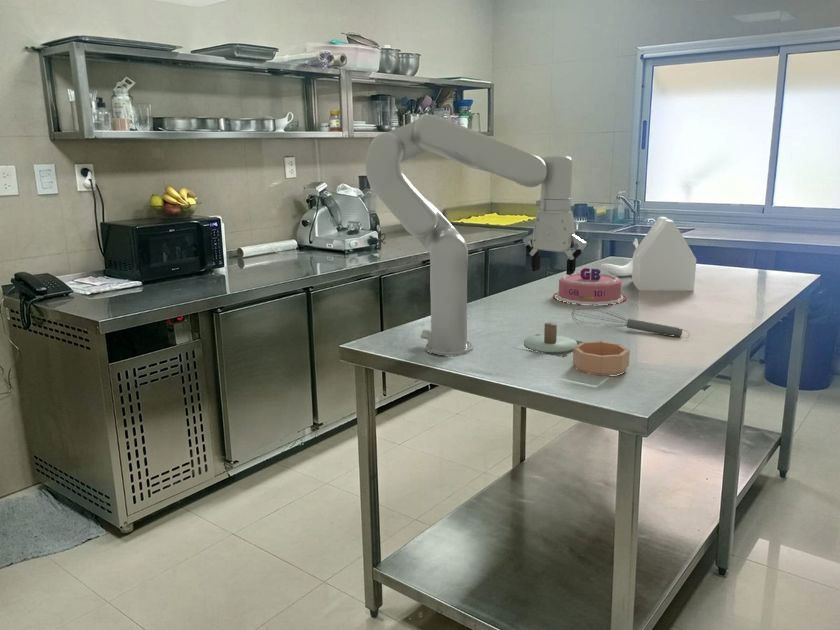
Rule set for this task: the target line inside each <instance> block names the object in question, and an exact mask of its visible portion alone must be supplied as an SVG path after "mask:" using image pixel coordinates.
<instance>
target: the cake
mask: <svg viewBox="0 0 840 630" xmlns="http://www.w3.org/2000/svg"><path fill="white" fill-rule="evenodd" d="M590 270H591V271H590ZM555 295H557V296H556V298H558V299H559V300H561V301H560V303H563V301H566V302H564V303H563V304H567V302H568V303H570V304H569V305H573V304H572V303H576V304H577V305H576V306H579V305H580V306H582V305H581V304H590V305H591V304H592V305H598V304H608V305H607V306H614V305H613V304H611V303H616V304H615V305H619V303H618V302H620V301H622V300H623V301H622V302H623V303H625V302H627V297H626V295H624V294H622V280H621V278H619V277H618V276H616V275H613V274H610V273H603V272H602V273H601V270H600V269H599V268H590V267H589V268H588V267H584V268H583V269H581V271H580V272H574V273H573V274H571V275H567V274H564V275H563V276H561V277H559V280H558V291H557V292H556V293H554V294H552V298H553V299H554V300H555V301H557V302H559V300H557V299H556V298H555ZM623 297H624V298H625V299H624V298H623ZM624 301H625V302H624ZM622 302H620V304H622Z"/></svg>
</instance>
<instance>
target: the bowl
mask: <svg viewBox="0 0 840 630" xmlns="http://www.w3.org/2000/svg"><path fill="white" fill-rule="evenodd" d="M630 351H631V350H630V349H629V348H628V347H626V346H625V345H622V344H621V343H617V342H610V341H609V342H608V341H603V340H597V341H582V342H581V343H580V344H578V345H576V346H575V347H573V352H572V364H573V365H574V368H575V367H576V368H577V369H578V370H577V369H576V368H575V369H576V370H577V371H579V370H580V371H579V372H581V371H582V373H583V372H585V373H584V374H587V373H590V374H589V375H592V374H595V375H594V376H600V375H617V374H620V373H623V372H625V371H626V372H627V368H628V367H630V366H629V365H630Z"/></svg>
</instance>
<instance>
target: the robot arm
mask: <svg viewBox="0 0 840 630" xmlns="http://www.w3.org/2000/svg"><path fill="white" fill-rule="evenodd" d="M427 152H430V153H433V154H436V155H438V156H440V157H444V158H447V159H449V160H450V161H451V160H452V161H454V162H456V163H459V164H461V165H464V166H466V167H470V168H472V169H475V170H479V171H484V172H487V173H489V174H490V173H491V174H493V175H496V176H499V177H502V178H504V179H507V180H509V181H512V182H513V183H516V184H517V185H520V186H524V187H526V188H535V187H538V186H540V198H539V200H536V201H535V205H536V206H538V207H539V209H540V210H537V211H536V215H535V219H534V225H533V231H532V232H533V233H531V234H529V235H526V236H525V237H523V238H522V240H523V243H524V246H525V250H527V252H528V253H529V255H530V256H531V260H530V261H531V262H530V263H531V265H530V266H531V268H532V269H531V271H532V272H536V271H539V270H540V269H541V254H540V252H541V251H547V252H555V253H556V252H557V253H558V252H559V253H564V254H565V255H566V256H567V258H568V259H567V260H566V271H565V272H566V274H565V275H571V274H573V273H575V272H576V264H577V258H579V256H581V254H583V253H584V250H585V248H586V247H587V244H588V243H587V241H585V240H584V239H581V238H580V237H579V236H577V235H576V229H575V228H576V227H575V220H574V219H575V217H574V214H573V211H571V210H572V209H571V204H572V188H573V187H572V186H573V185H572V183H573V166H574V165H573V159H572V157H571V156H567V155H549V156H546V157H545V156H544V157H542V156H538V155H535V154H532V153H530V152H527V151H525V150H522V149H519V148H517V147H515V146H512V145H509V144H506V143H505V142H502V141H499V140H497V139H495V138H492V137H490V136H489V135H487V134H484V133H482V132H479V131H476V130H474V129H471V128H470V127H469V128H468V127H465V126H463V125H461V124H458V123H456V122H453V121H451V120H448V119H446V118H444V117H440V116H439V115H436V114H424V115H422V116H420V117H419V118H417V119H415V120H414V121H411V122H409V123H407V124H405V125H402V126H399V127H396V128H395V129H392V130H389V131H388V132H383V133H379V134H377V135H376V136H375V137H374V138H373V139H372V141H371V142H370V145H369V147H368V150H367V154H366V158H365V174H366V175H365V176H366V179H367V181H368V184H369V186H370V188H371V189H372V191H373V193H374V194H375V195H376V196H377V197H378V199H379V200H380V201H381V202H382V203H383V205H384V206H386V208H387V209H388V210H389V211H390V213H391V214H392V215H393V216H394V217H395V218H396V219H397V220H398V222H399V223H400V224H401V225H402V226H403V228H404V229H405V230H406V232H408V233H409V235H412V236H413V237H414V238H415V239H416V240H417V242H418V243H420V244H421V246H422V247H423V248H424V249H426V251H427V252H428V253H429V262H430V263H429V264H430V265H429V266H430V267H429V273H430V274H429V285H430V286H429V290H430V291H429V292H430V330H428V329H423V330H422V331H421V334H420V338H421V339H422V340H427V343H426V344H425V351H426V350H427V351H429V352H431V353H434V354H438V355H437V356H439V355H456V356H460V355H459V354H463V355H465V354H464V353H467V354H469V353H471V352H472V351H474V344H473V343H472V342H470V341H468V264H469V263H468V262H469V248H468V244H467V242H466V240H465V238H464V237H463V235H462V234H461V233H460V232H459V231H458V230H457V229H456V228H455V227H454V226H453V225H452V223H451V222H450V221H449V220H448V219H447V218H446V217H445V216H444V215H443V214H442V212H440V210H439V208H437V206H435V205H434V204H433V202H432V201H430V200H429V199H428V198H426V197H424V196H423V194H421V193H420V192H419V190H418V189H417V188H416V187H415V186H414V185H413V184H412V183H411V181H410V180H409V179H408V178H407V177H406V175H405V174H404V173H403V171H402V168H401V163H404V162H406V161H408V160H411V159H413V158H416V157H418V156H420V155H423V154H425V153H427ZM531 241H532V242H531ZM576 244H577V245H578V247H577V248H576V250H575V245H576ZM427 351H426V352H427ZM470 351H471V352H470ZM468 352H469V353H468ZM431 353H430V354H431ZM434 354H433V355H434Z"/></svg>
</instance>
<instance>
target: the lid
mask: <svg viewBox="0 0 840 630" xmlns="http://www.w3.org/2000/svg"><path fill="white" fill-rule="evenodd" d="M557 327H558V324H557V322H556V323H555V322H545V323H544V334H539V335H538V336H535V335H534V336H530V337H526V338H525V339H523V341H524V346H525V347H526V348H528V349H531V350H533V351H538V352H545V353H562V352H568V351H572V350H573V347H575V346H576V345H577V342H576V341H577V340H576V341H575V339H573V338H571V337H568V336H563V335H557V332H558V330H557V329H558V328H557ZM538 352H537V353H538Z"/></svg>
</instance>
